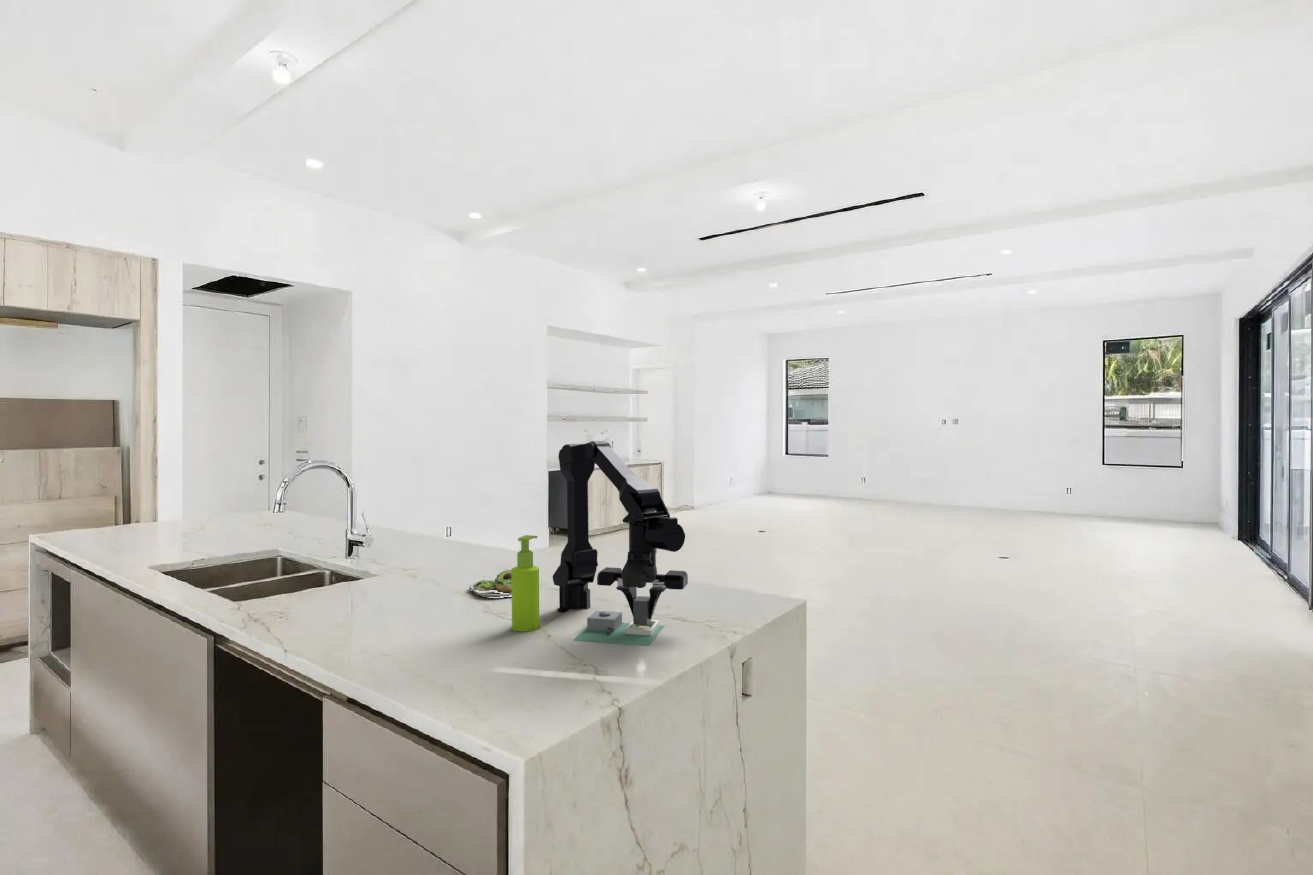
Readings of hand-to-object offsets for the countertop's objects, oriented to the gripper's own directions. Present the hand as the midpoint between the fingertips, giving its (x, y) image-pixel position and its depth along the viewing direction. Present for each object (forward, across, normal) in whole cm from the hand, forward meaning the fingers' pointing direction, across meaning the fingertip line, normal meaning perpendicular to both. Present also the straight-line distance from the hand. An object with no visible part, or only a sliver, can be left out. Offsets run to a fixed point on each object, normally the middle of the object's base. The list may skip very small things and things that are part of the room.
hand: (642, 618), depth 149 cm
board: (+3, -4, -4) cm, 6 cm away
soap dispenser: (+3, -26, -2) cm, 26 cm away
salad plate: (+4, -46, +28) cm, 54 cm away
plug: (+1, 0, 0) cm, 1 cm away
